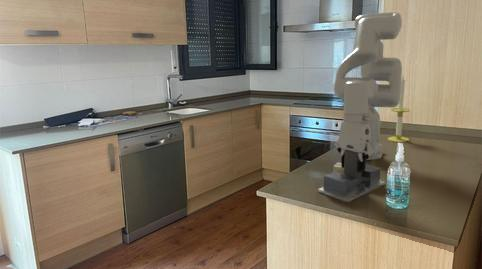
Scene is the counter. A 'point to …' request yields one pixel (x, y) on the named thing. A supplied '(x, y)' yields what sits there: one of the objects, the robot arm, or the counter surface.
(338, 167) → the loose block
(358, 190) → the board
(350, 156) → the bottle
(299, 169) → the counter surface
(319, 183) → the counter surface
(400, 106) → the candle
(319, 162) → the counter surface
